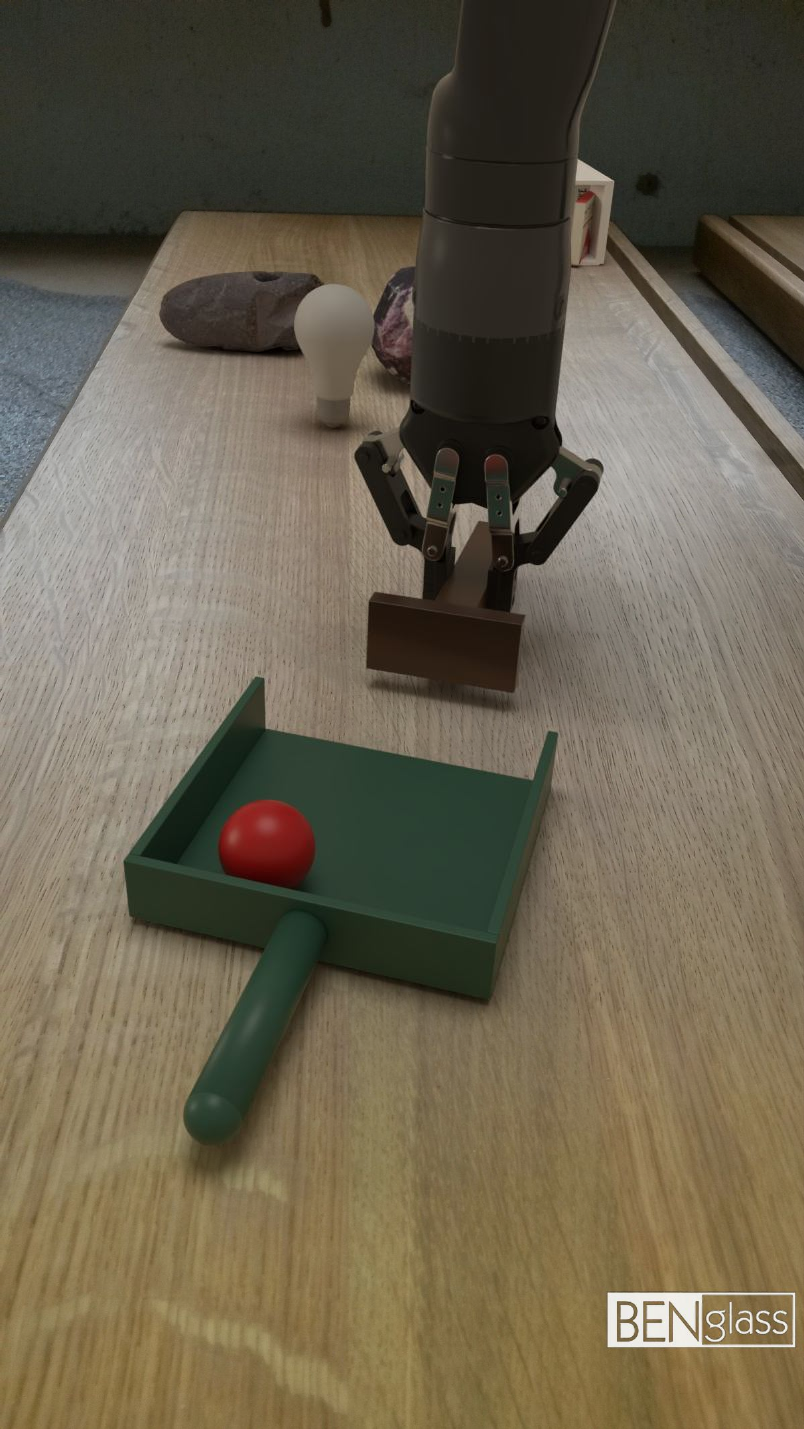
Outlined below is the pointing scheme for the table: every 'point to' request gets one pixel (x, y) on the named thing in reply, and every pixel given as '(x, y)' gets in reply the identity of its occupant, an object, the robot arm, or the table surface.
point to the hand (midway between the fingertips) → (466, 615)
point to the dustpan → (335, 880)
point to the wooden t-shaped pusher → (449, 628)
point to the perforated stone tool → (237, 309)
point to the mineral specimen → (395, 325)
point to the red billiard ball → (267, 844)
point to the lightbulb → (334, 345)
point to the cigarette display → (590, 215)
